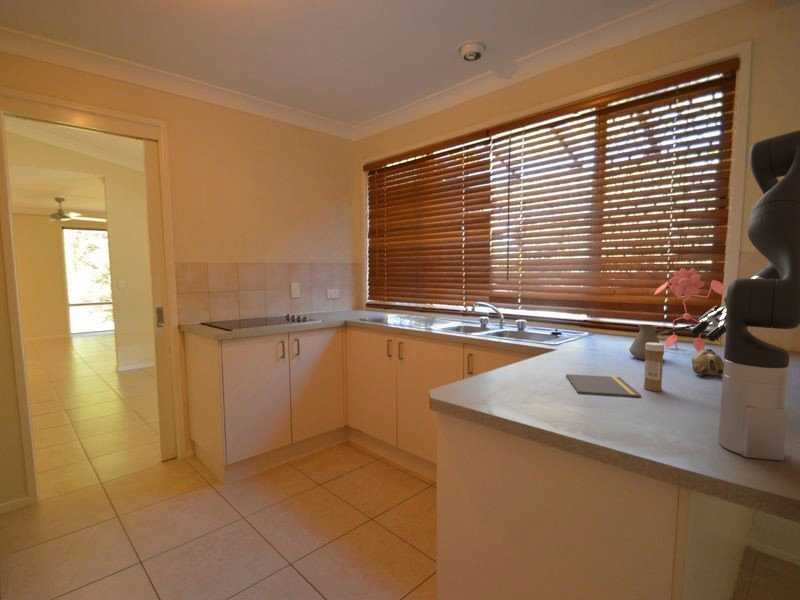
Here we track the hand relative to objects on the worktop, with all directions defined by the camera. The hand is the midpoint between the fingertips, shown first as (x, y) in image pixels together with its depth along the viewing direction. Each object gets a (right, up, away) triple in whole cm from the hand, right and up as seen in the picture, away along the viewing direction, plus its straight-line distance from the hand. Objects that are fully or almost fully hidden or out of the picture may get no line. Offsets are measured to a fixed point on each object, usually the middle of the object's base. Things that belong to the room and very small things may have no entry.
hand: (700, 336), depth 111 cm
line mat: (-25, -15, +7) cm, 30 cm away
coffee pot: (+14, -13, +38) cm, 43 cm away
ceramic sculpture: (+18, -15, +20) cm, 30 cm away
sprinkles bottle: (-11, -16, +4) cm, 20 cm away
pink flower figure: (+33, -12, +54) cm, 65 cm away
